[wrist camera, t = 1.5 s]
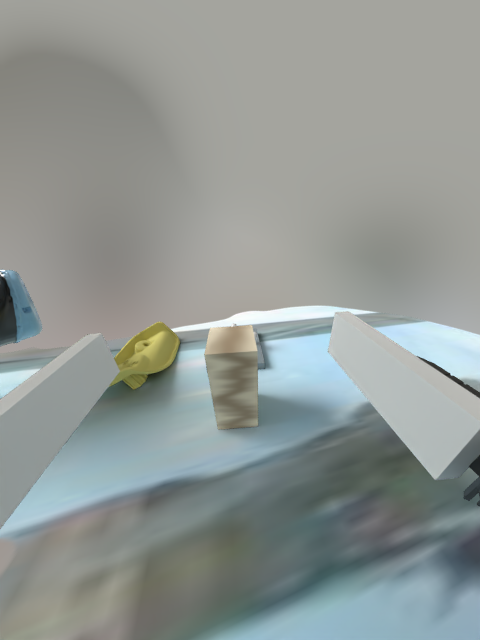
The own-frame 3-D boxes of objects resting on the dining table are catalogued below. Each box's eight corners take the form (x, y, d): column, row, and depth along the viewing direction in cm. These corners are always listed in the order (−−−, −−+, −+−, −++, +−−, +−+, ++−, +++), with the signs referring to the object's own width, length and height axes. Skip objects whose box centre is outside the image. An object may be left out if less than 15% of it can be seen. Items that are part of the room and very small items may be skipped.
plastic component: (132, 337, 47) (163, 318, 46) (151, 356, 50) (181, 339, 49) (82, 394, 29) (132, 364, 28) (116, 419, 32) (162, 393, 31)
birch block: (217, 429, 27) (204, 354, 20) (220, 395, 32) (210, 328, 26) (258, 426, 27) (257, 350, 20) (253, 393, 32) (252, 325, 26)
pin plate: (207, 372, 37) (204, 355, 35) (213, 336, 50) (211, 321, 48) (264, 368, 37) (265, 351, 35) (256, 333, 50) (256, 319, 48)
